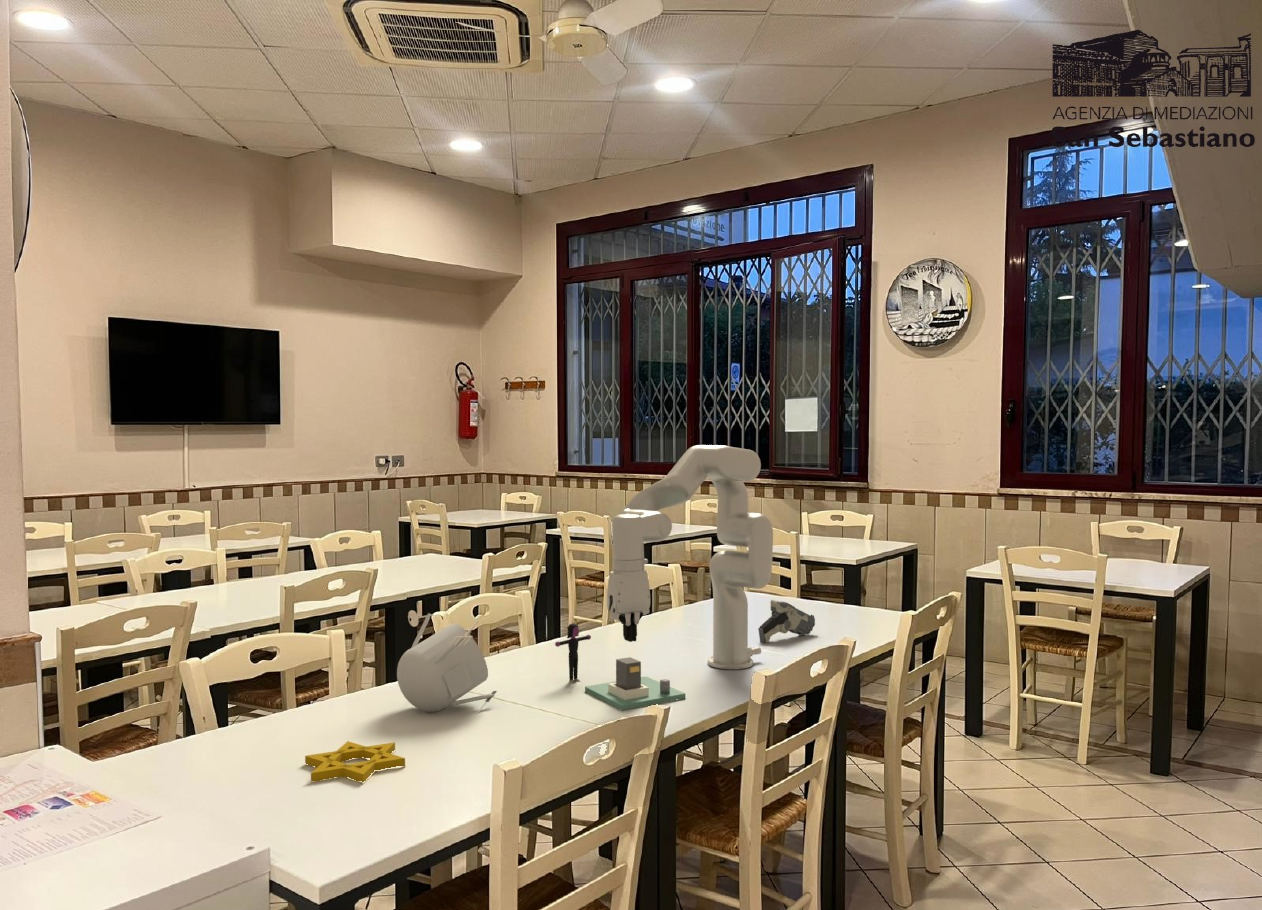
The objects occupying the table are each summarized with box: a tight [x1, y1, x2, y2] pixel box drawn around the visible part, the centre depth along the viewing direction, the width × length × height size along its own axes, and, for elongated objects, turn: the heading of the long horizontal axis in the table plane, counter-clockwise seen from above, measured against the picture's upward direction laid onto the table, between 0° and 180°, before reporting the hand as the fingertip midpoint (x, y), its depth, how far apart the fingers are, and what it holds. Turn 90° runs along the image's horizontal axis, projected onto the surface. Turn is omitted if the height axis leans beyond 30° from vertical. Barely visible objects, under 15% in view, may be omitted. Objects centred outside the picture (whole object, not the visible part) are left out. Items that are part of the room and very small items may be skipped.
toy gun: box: [757, 599, 816, 644], centre depth 283 cm, size 4×21×15 cm, turn 124°
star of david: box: [304, 740, 406, 782], centre depth 176 cm, size 20×17×2 cm
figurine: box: [554, 622, 592, 684], centre depth 235 cm, size 12×4×15 cm, turn 136°
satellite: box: [396, 610, 498, 713], centre depth 212 cm, size 23×20×25 cm
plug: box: [615, 657, 642, 690], centre depth 219 cm, size 4×6×8 cm
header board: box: [584, 676, 686, 711], centre depth 223 cm, size 18×18×4 cm
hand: (630, 640), depth 220 cm, fingers closed
